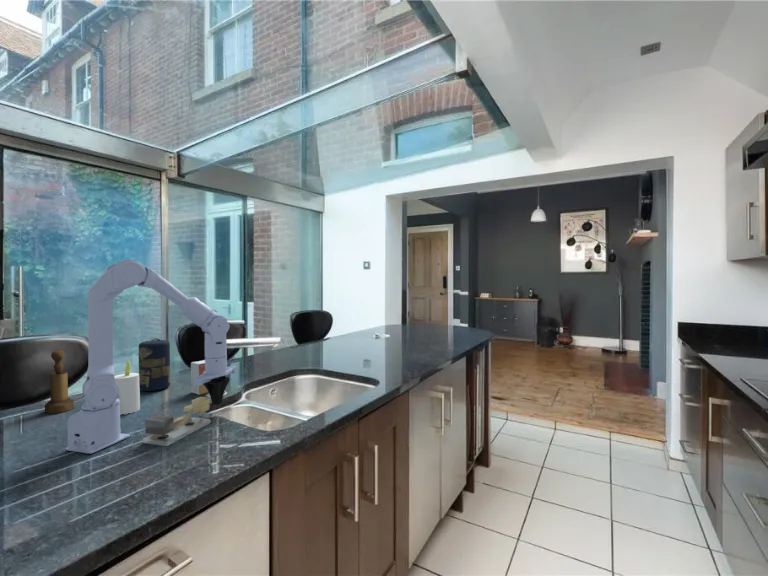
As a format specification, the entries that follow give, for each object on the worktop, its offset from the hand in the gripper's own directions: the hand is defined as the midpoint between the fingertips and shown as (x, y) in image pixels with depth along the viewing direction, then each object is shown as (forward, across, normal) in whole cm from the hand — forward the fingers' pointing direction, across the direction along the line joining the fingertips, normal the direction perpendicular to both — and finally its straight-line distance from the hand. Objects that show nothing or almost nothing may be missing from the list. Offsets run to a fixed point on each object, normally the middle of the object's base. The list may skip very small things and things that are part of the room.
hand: (216, 403), depth 105 cm
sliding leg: (+1, +6, -1) cm, 7 cm away
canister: (+3, -14, -40) cm, 42 cm away
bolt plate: (+3, +13, 0) cm, 14 cm away
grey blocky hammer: (+2, +14, -1) cm, 14 cm away
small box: (+3, -17, -20) cm, 26 cm away
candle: (+3, +5, -28) cm, 28 cm away
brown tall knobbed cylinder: (+3, +10, -49) cm, 50 cm away
